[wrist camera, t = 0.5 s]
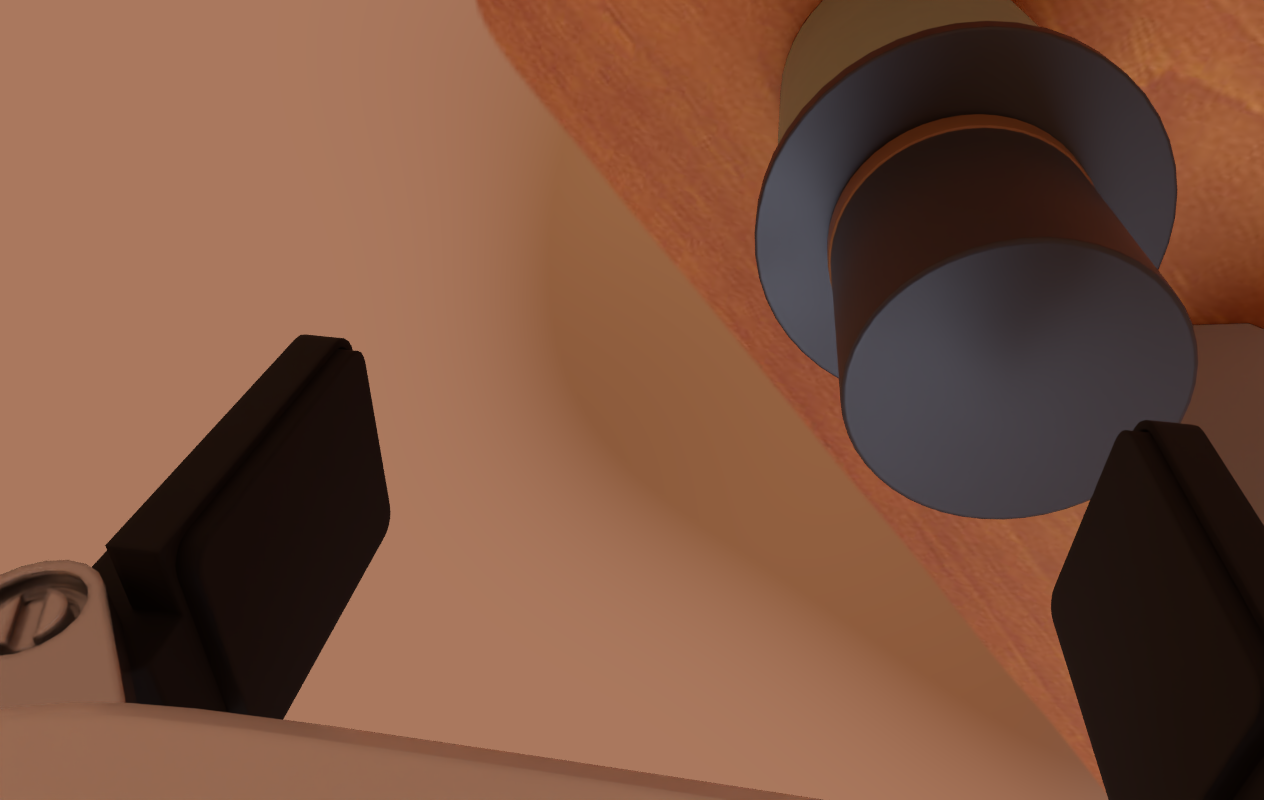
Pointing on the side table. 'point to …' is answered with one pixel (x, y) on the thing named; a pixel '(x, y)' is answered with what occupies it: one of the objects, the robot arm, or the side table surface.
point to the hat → (981, 263)
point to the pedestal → (867, 38)
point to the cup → (1232, 402)
